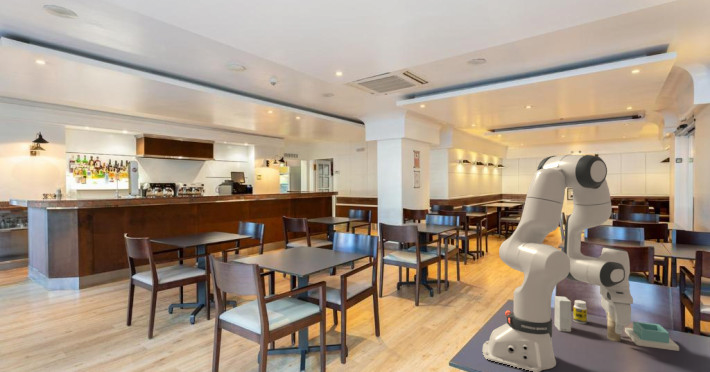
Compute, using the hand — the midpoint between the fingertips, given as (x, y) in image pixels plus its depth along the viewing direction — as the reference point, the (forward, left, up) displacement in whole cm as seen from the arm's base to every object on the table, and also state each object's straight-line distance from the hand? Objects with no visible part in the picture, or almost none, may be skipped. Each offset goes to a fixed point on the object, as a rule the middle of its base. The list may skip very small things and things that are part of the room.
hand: (614, 328), depth 132 cm
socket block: (+12, +3, -4) cm, 13 cm away
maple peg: (0, 0, -4) cm, 4 cm away
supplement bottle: (-8, +14, -4) cm, 17 cm away
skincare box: (-16, +4, -4) cm, 17 cm away
